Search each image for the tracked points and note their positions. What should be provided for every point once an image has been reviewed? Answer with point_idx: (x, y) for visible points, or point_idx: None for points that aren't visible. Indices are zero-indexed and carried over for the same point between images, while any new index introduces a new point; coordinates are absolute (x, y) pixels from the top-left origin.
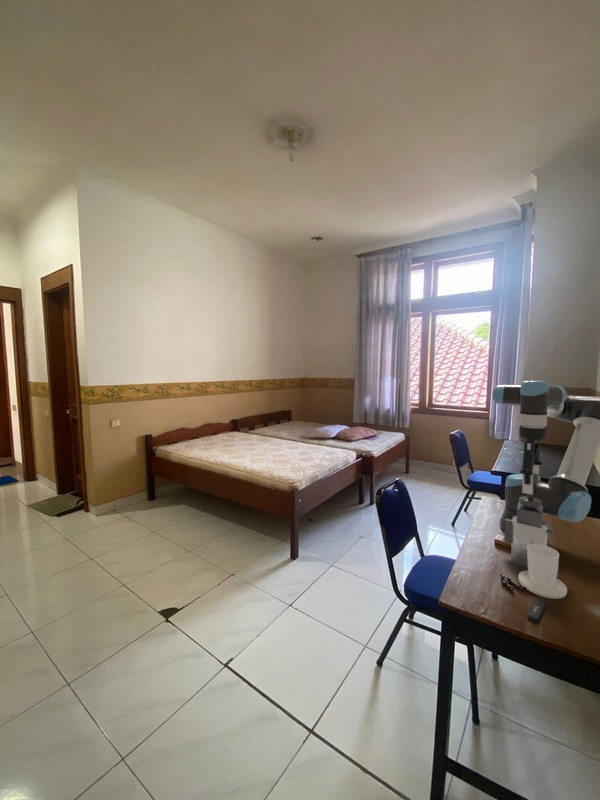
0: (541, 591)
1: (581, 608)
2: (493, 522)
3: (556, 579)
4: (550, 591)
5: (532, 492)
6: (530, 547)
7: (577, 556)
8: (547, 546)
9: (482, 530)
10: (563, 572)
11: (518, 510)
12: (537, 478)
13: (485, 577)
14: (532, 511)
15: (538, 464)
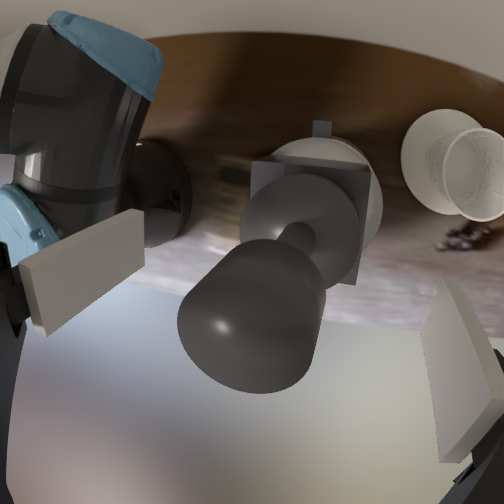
0: None
1: (494, 97)
2: None
3: (421, 124)
4: None
5: (449, 284)
6: (457, 206)
7: (226, 62)
8: (447, 153)
9: None
10: (348, 98)
11: (355, 274)
12: (284, 275)
13: (462, 282)
14: (364, 218)
15: (11, 269)
